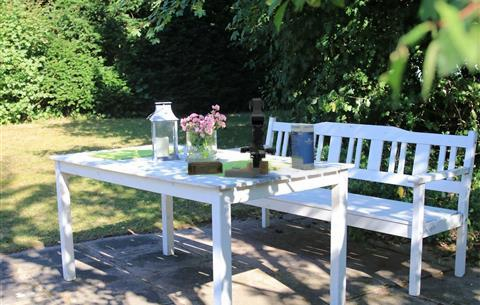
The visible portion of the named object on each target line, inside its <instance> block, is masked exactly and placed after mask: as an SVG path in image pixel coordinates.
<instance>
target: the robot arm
mask: <svg viewBox="0 0 480 305" xmlns="http://www.w3.org/2000/svg"><path fill="white" fill-rule="evenodd" d="M248 103H249V104H248V107H249V110H250V113H251V115H250V127H251V128H252V139H251V143H250V144H249V146H243V147H241V148H240V149H239V151H240V152H239V153H240V154H246V153H249V158H250V159H252V161H251V162H252V168H259V166H260V163H261V161H263V159H266V155H267V154H269V155H272V154H277V147H271V146H270V147H267V148H265V146H264V141H265V138H264V134H265V133H264V127H265V128H266V126H267V117H266V116H265V115H264V112H263V111H264V110H263V109H264V108H265V100H264V99H262V98H261V97H256V98H255V97H253V98H252V99H251V100H249V101H248Z"/></svg>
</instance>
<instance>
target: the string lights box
mask: <svg viewBox="0 0 480 305" xmlns="http://www.w3.org/2000/svg"><path fill="white" fill-rule="evenodd" d="M290 142H291V143H290V144H291V146H290V148H291V149H290V150H291V168H293V169H298V170H302V171H306V170H307V171H308V170H315V124H312V123H302V122H300V123H291V124H290Z"/></svg>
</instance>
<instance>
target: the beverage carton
mask: <svg viewBox="0 0 480 305" xmlns="http://www.w3.org/2000/svg"><path fill="white" fill-rule="evenodd" d="M223 167H224V164H223V163H222V162H221V161H201V162H199V161H197V162H187V174H189V176H197V175H198V176H200V175H217V174H218V173H220V174H224V173H223V171H224V168H223Z"/></svg>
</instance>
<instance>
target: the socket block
mask: <svg viewBox="0 0 480 305" xmlns="http://www.w3.org/2000/svg"><path fill="white" fill-rule="evenodd" d="M240 168H242V167H241V166H240V167H239V166H237V167H236V166H232V167H231V168H230V169H225V170H223V171H224V173H223V174H224V178H225V177H226V178H243V179H247V178H248V179H254V178H255V177H256V178H257V177H258V176H260V175H261V174H260V169H259V168H253V169H252V170H239V169H240Z"/></svg>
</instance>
